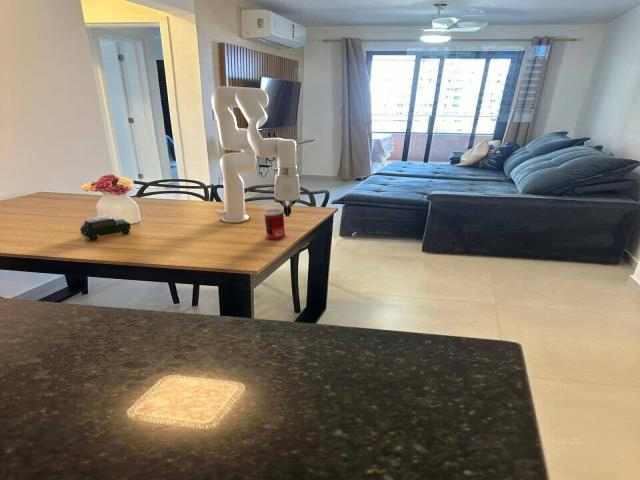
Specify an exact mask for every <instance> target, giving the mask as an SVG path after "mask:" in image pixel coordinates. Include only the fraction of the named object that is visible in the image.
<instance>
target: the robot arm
mask: <svg viewBox="0 0 640 480" xmlns="http://www.w3.org/2000/svg"><path fill="white" fill-rule="evenodd" d="M210 103H211V107H212V110H213V113H214V116H215V119H216V125H217V131H218V137H219V143H220V147H221V148H222V149H223V150H226V151H237V150H240V152H228V153H225V154H223V155H222V156H221V157H220V159H219V167H220V169H221V170H220V171H221V175H222V185H223V201H224V202H223V203H224V209H223V210H215V215H217V216H219V217H220V216H222V217H221V220H222V221H223V222H225V223H230V224H234V223H235V224H236V223H244V222H247V221H248V220H249V215H248V214H246V204H245V203H246V201H245V200H246V198H245V183H244V180H243V178H242V177H241V175H240V174H246V173H251V172H254V171H255V170H256V168H257V166H258V165H257V164H258V161H257V157H258V158H261V159H268V158H277V159H276V160H277V161H276V163H277V167H275V168H273V172H274V173H276V174H275V176H274V191H273V193H274V194H273V195H274V198H273V201H274V203H278V204H280V205H281V206H282V208H283V214H284V217H285V218H288V217H289V218H290V215H292V207H293V206H294V205H295V204H298V203H301V188H300V187H301V186H300V179H299V174H298V173H297V142H296V140H294V139H290V138H289V139H285V138H282V137H267V138H266V137H265V138H264V137H262V135H261V133H260V132H259V128H261V127H262V126H263V125H264V124H265V123H266V122H267V121H268V114H267V112H266V110H265V109H267V108H268V105H269V96H268V94H267V91H265V90H264V89H262V88H256V87H242V86H231V85H222V86H221V85H220V86H218V87H215V88H214V89H213V90H212V92H211V101H210ZM230 108H239V110H240V112H241V113H242V115H243V117H244V118H245V120H246V122H247V124H248V126H247V128H244V127H243V128H241V127H240V128H239V127H238V124H237V119H236V116H235V114H234V112H233V111H232V110H231V109H230ZM286 201H288V204H287V202H286Z"/></svg>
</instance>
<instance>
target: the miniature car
mask: <svg viewBox="0 0 640 480" xmlns="http://www.w3.org/2000/svg"><path fill="white" fill-rule="evenodd" d="M130 230H132V226H131V223H130V222H128V221H126V220H125V219H120V218H119V219H115V218H114V217H113V216H111V215H107V214H106V215H97V216H92V217H88V218H85V220H84V222H83V224H82V225H81V226H80V229H79V231H80V232H79V234H80V236H81V237H83V238H84V239H85V238H87V239H89V240H90V241H92V242H95V241H96V240H98V237H103V236H109V235H115V234H119V233H121V234H122V235H124V236H125V235H129V234H130V232H131V231H130Z"/></svg>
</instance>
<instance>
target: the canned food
mask: <svg viewBox="0 0 640 480" xmlns="http://www.w3.org/2000/svg"><path fill="white" fill-rule="evenodd" d="M263 214H264V223H265V231H266V237H267V239H268V240H275V241H276V240H280V239H283V238H284V237H285V236H286V226H285V225H286V224H285V214H284V209H281V208H272V209H268V210H265V211H264V213H263Z"/></svg>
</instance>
